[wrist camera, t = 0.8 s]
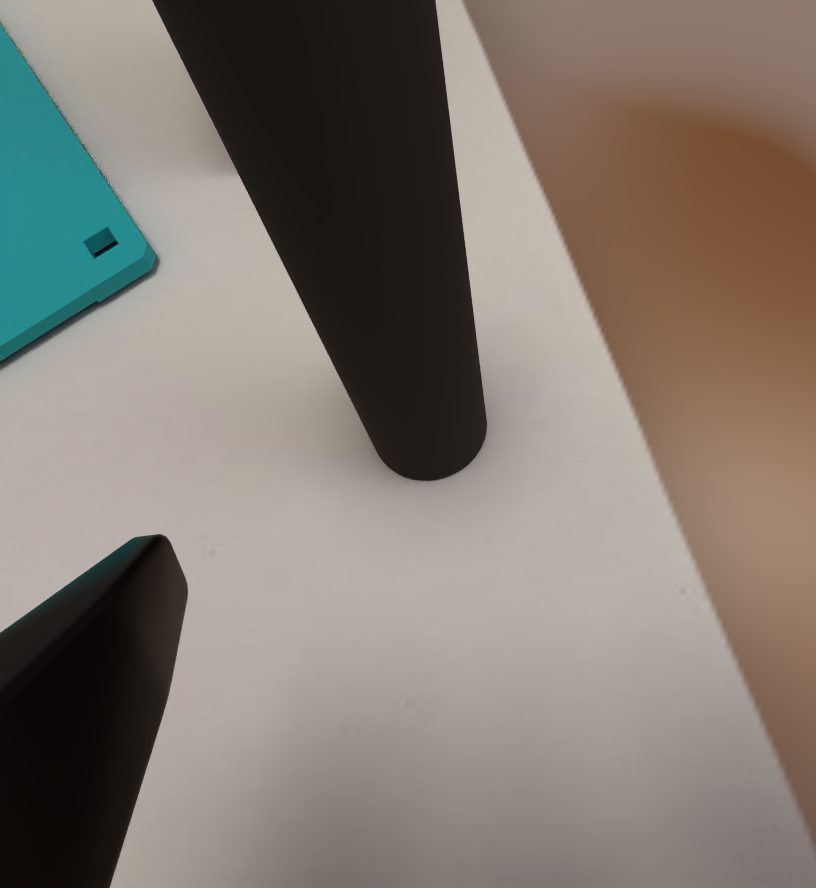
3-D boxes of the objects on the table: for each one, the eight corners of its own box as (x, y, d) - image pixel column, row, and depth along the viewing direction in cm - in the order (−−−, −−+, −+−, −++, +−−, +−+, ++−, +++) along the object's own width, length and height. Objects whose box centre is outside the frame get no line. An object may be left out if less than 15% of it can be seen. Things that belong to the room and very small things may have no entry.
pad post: (496, 469, 25) (412, -309, 7) (379, 490, 25) (-6, -193, 7) (476, 366, 26) (365, -472, 8) (366, 387, 27) (32, -373, 9)
